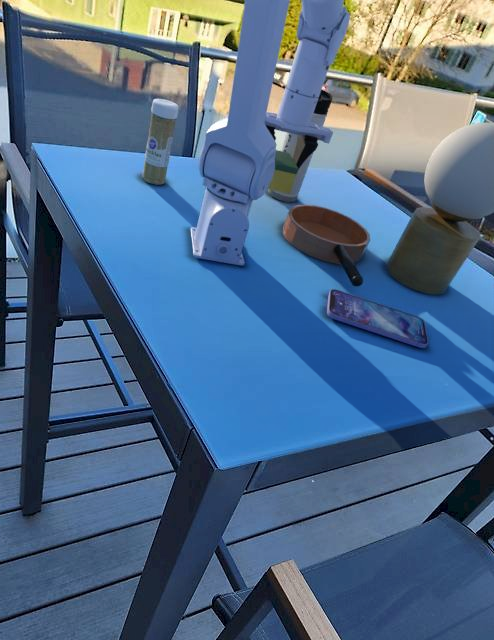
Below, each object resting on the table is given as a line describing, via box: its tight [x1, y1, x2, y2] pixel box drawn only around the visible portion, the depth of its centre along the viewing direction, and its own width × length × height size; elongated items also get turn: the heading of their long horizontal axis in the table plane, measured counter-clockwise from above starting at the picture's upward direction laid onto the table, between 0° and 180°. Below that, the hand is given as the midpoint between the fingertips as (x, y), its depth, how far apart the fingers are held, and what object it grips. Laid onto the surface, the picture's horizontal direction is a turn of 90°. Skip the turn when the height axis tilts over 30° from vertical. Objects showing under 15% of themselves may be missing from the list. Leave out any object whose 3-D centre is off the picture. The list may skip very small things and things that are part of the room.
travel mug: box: [267, 89, 333, 203], centre depth 95 cm, size 6×7×20 cm
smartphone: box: [326, 288, 429, 349], centre depth 72 cm, size 7×1×15 cm
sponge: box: [267, 149, 298, 194], centre depth 88 cm, size 8×5×4 cm, turn 5°
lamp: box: [385, 122, 494, 296], centre depth 81 cm, size 15×14×25 cm
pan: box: [282, 204, 371, 265], centre depth 88 cm, size 15×15×4 cm
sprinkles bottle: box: [141, 98, 180, 186], centre depth 87 cm, size 5×5×13 cm
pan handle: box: [334, 244, 364, 288], centre depth 78 cm, size 12×2×2 cm, turn 5°
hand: (275, 174), depth 89 cm, fingers closed on sponge, 5 cm apart
